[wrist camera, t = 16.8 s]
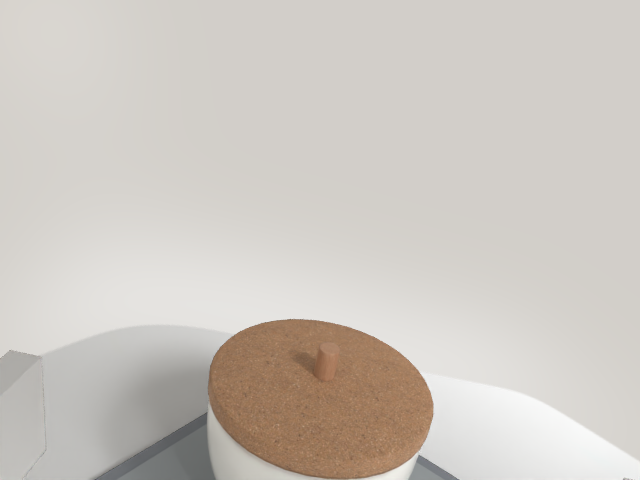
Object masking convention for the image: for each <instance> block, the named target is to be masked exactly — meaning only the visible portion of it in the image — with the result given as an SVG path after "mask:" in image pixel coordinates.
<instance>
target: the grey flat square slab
mask: <svg viewBox="0 0 640 480" xmlns="http://www.w3.org/2000/svg"><path fill="white" fill-rule="evenodd" d="M207 415H208V412H207V413H205V414H204V415H202V416H200V417H199V418H197V419H195V420H194V421H192V422H190V423H189V424H187V425H185V426H184V427H182V428H180V429H179V430H177V431H175V432H174V433H172V434H170V435H169V436H167V437H165V438H164V439H162V440H160V441H159V442H157V443H155V444H154V445H152V446H150V447H149V448H147V449H145V450H144V451H142V452H140V453H139V454H137V455H135V456H134V457H132V458H130V459H129V460H127V461H125V462H124V463H122V464H120V465H119V466H117V467H115V468H114V469H112V470H110V471H109V472H107V473H105V474H104V475H102V476H100V477H99V478H97V479H95V480H216V479H215V476H214V473H213V470H212V468H211V462H210V456H209V449H208V442H207ZM408 480H459V479H457V478H456V477H454V476H452V475H451V474H449V473H448V472H446V471H444V470H443V469H441V468H439V467H438V466H436V465H435V464H433V463H431V462H430V461H428V460H427V459H425V458H423V457H422V456H420V455H418V458H417V460H416V463H415V466H414V469H413V471H412V473H411V475H410V477H409V479H408Z"/></svg>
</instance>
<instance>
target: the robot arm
mask: <svg viewBox="0 0 640 480" xmlns="http://www.w3.org/2000/svg"><path fill="white" fill-rule="evenodd" d="M45 451H46V436H45V415H44V393H43V372H42V357H40V356H35V355H30V354H26V353H21V352H16V351H11V350H10V351H9V352H8V353H6V354H5V355H4V356H3V357H2V358H0V480H22V479H23V478H24V477H25V475H26V474H27V473H28V472H29V470H30V469H31V468H32V467H33V466H34V464H35V463H36V462H37V461H38V459H39V458H40V457H41V456H42V454H43V453H44V452H45ZM623 480H633V479H628V478H624V479H623Z"/></svg>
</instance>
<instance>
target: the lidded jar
mask: <svg viewBox="0 0 640 480" xmlns="http://www.w3.org/2000/svg"><path fill="white" fill-rule="evenodd" d="M208 395H209V403H208V415H207V442H208V449H209V456H210V462H211V468H212V470H213V473H214V476H215V479H216V480H408V479H409V477H410V475H411V473H412V471H413V469H414V466H415V463H416V460H417V458H418V455H419V451H420V448H421V447H422V445H423V443H424V441H425V440H426V437H427V435H428V432H429V429H430V425H431V421H432V418H433V401H432V397H431V393H430V390H429V388H428V386H427V384H426V382H425V380H424V379H423V377H422V376H421V374H420V373H419V371H418V370H417V369H416V368H415V367H414V366H413V365H412V363H411V362H410V361H409V360H407V359H406V358H405V357H404V356H403V355H402V354H400V353H399V352H398V351H397V350H395V349H393V348H392V347H390V346H389V345H387V344H386V343H384V342H382V341H380V340H378V339H377V338H375V337H373V336H370V335H368V334H366V333H363V332H361V331H358V330H355V329H352V328H349V327H346V326H342V325H338V324H333V323H329V322H323V321H316V320H303V319H302V320H301V319H300V320H299V319H288V320H277V321H271V322H265V323H261V324H258V325H255V326H252V327H249V328H247V329H245V330H243V331H240V332H239V333H237V334H236V335H234V336H233V337H231V338H230V339H229V340H228V341H226V342H225V343H224V344H223V345H222V346H221V347H220V348H219V350H218V351H217V353H216V354H215V356H214V358H213V361H212V363H211V366H210V373H209V383H208Z"/></svg>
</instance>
